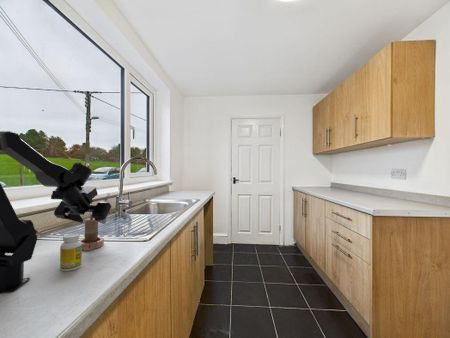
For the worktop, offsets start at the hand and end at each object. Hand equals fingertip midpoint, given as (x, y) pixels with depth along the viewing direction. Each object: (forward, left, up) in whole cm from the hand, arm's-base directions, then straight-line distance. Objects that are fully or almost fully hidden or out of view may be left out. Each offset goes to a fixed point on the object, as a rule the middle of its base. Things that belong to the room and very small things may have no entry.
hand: (93, 222), depth 91 cm
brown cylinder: (-1, 0, -8) cm, 8 cm away
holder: (-1, 0, -9) cm, 9 cm away
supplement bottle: (-21, -2, -9) cm, 23 cm away
